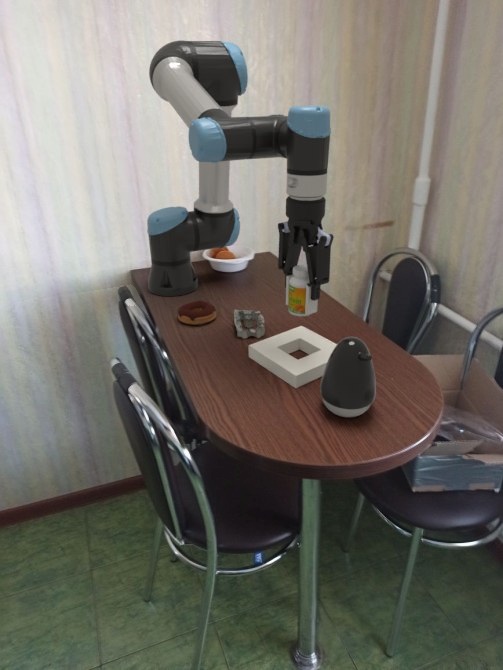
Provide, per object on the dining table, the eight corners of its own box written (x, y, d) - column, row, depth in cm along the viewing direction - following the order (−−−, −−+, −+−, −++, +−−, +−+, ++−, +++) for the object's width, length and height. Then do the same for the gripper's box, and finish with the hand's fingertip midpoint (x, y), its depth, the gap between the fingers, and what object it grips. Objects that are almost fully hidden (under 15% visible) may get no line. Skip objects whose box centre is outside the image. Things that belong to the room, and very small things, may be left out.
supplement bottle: (282, 311, 101) (283, 268, 96) (298, 304, 104) (300, 261, 100) (303, 319, 97) (305, 274, 93) (318, 311, 101) (321, 267, 96)
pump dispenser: (338, 432, 84) (345, 358, 77) (309, 400, 93) (313, 331, 86) (384, 417, 88) (395, 346, 81) (352, 388, 96) (360, 321, 89)
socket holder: (248, 356, 108) (248, 345, 107) (300, 336, 116) (301, 325, 115) (295, 388, 97) (296, 375, 95) (349, 363, 105) (350, 351, 104)
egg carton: (265, 339, 116) (265, 324, 114) (235, 340, 116) (234, 325, 114) (262, 319, 125) (262, 305, 124) (234, 320, 125) (233, 306, 123)
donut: (212, 309, 131) (211, 296, 130) (220, 324, 123) (219, 310, 121) (175, 314, 129) (174, 300, 127) (181, 329, 121) (180, 315, 119)
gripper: (260, 191, 94) (260, 298, 105) (326, 207, 81) (318, 328, 92) (288, 186, 98) (286, 290, 109) (356, 201, 85) (345, 318, 96)
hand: (301, 307), depth 100 cm, fingers closed on supplement bottle, 5 cm apart
